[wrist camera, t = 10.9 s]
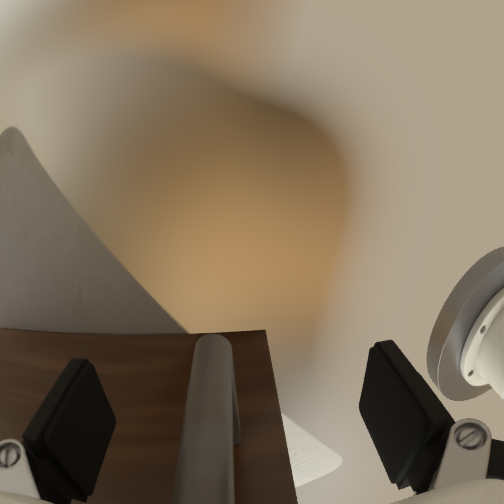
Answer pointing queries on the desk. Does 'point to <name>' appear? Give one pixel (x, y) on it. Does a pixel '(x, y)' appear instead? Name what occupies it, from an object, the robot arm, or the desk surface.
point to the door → (165, 413)
